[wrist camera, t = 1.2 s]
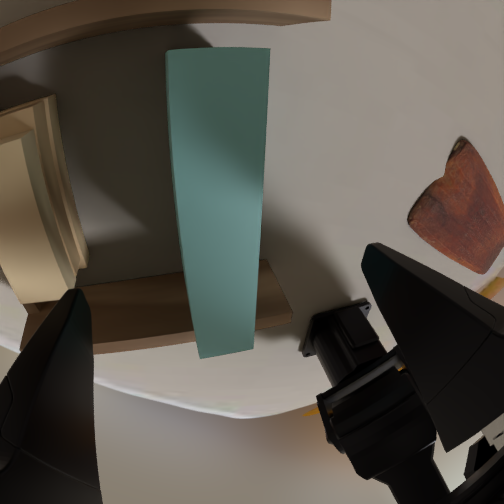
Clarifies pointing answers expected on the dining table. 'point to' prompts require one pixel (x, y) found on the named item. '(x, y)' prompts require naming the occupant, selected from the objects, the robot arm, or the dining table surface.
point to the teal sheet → (219, 185)
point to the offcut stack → (37, 205)
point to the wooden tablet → (462, 212)
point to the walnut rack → (170, 285)
